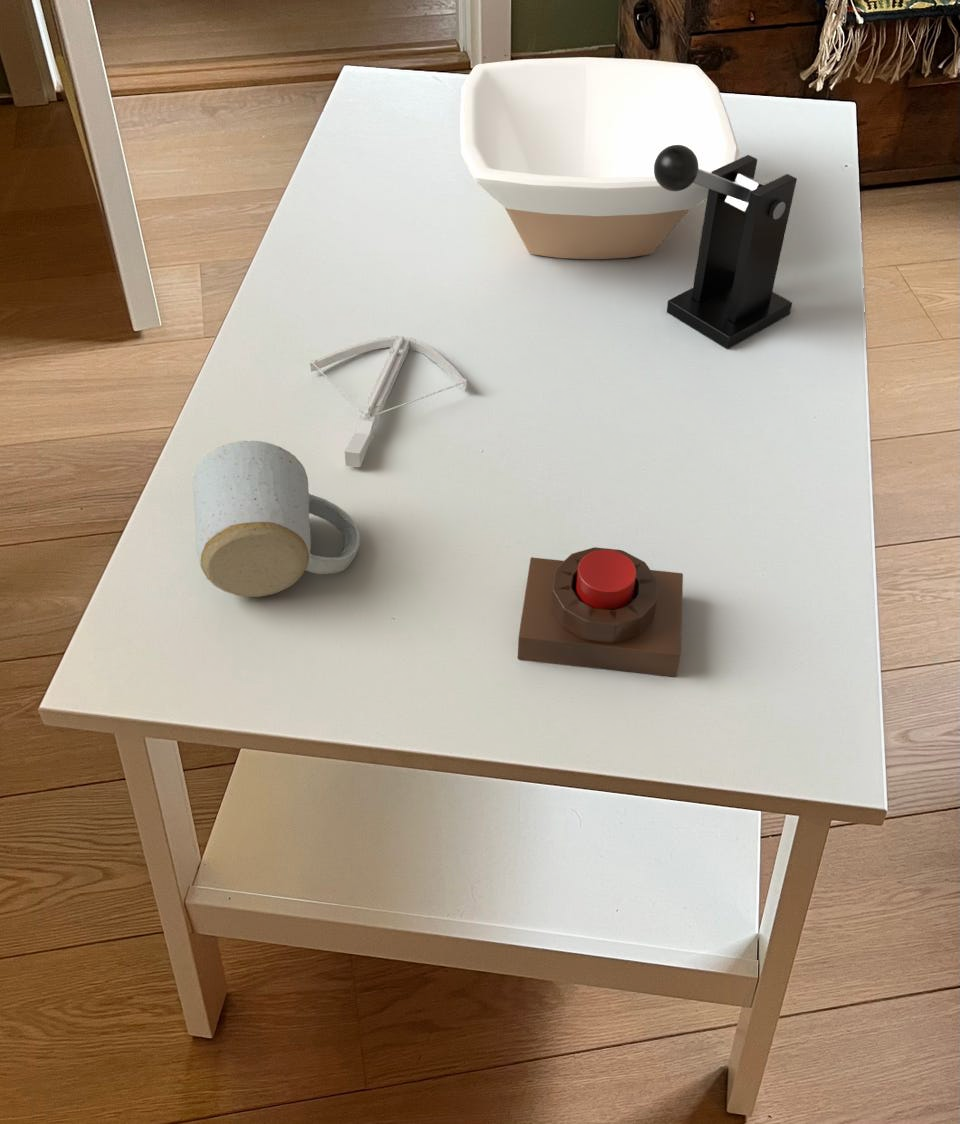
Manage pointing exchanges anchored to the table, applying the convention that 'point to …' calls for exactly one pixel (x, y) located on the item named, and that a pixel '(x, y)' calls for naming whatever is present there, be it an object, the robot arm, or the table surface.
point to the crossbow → (381, 385)
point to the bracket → (738, 261)
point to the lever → (700, 176)
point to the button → (606, 579)
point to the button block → (601, 620)
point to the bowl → (590, 148)
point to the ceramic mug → (261, 520)
